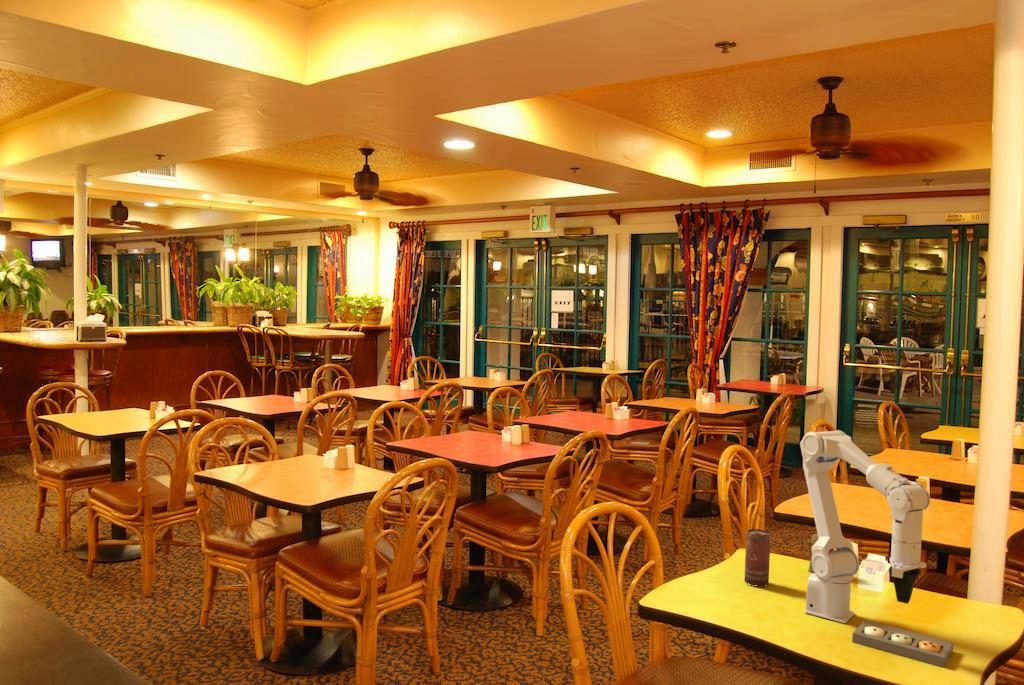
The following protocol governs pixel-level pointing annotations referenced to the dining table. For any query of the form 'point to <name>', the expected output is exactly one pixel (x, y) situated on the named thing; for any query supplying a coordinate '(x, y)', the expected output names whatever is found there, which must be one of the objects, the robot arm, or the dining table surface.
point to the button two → (901, 639)
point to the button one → (874, 631)
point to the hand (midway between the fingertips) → (903, 601)
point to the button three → (929, 646)
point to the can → (757, 557)
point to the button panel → (901, 648)
